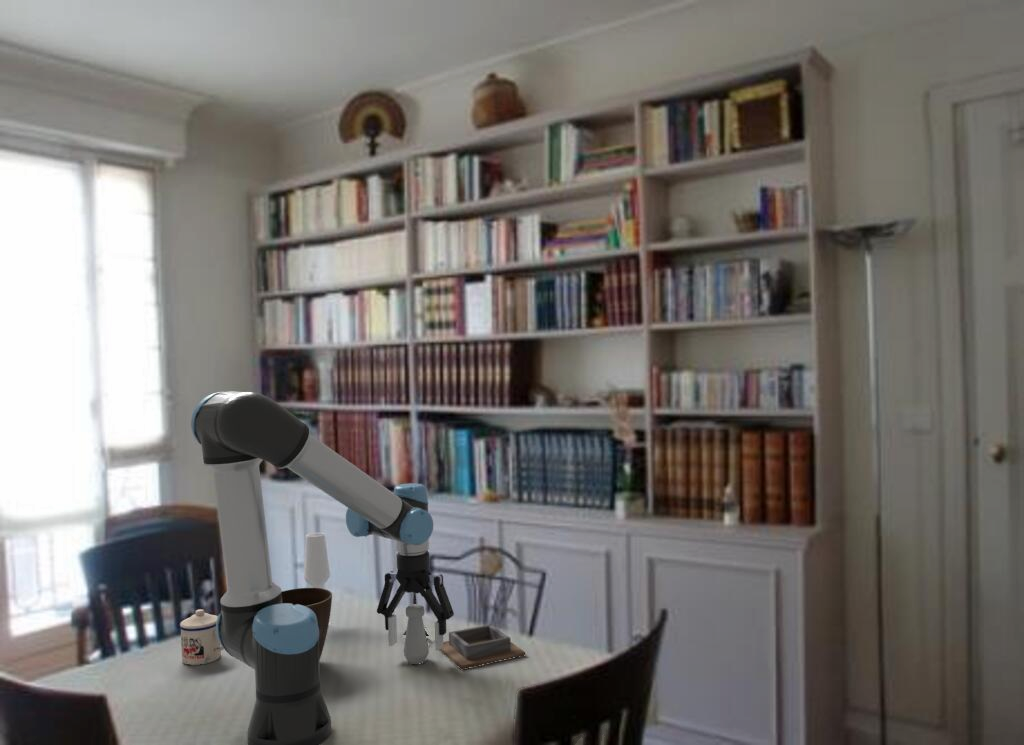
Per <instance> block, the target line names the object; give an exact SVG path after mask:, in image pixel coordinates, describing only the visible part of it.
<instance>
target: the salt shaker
mask: <svg viewBox="0 0 1024 745" xmlns="http://www.w3.org/2000/svg"><path fill="white" fill-rule="evenodd" d="M424 615H425V608H424V605H423V604H418V603H417V604H413V603H412V604H410V605H408V606H406V607H405V616H406V617H407V625H406V630H407V631H406V630H405V631H406V638H404V646H403V656H404V658H405V659H406V661H407V663H408V662H409V663H410V664H409V665H412V664H419V663H422V662H424V663H425V662H426V660H427V659H428V656H429V652H430V650H429V648H428V641H427V640H428V639H427V638H426V634H425V629H424V628H425V625H424V621H423V620H424V619H423V617H424ZM422 664H423V663H422ZM419 665H420V664H419Z"/></svg>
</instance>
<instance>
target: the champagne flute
mask: <svg viewBox="0 0 1024 745" xmlns="http://www.w3.org/2000/svg"><path fill="white" fill-rule="evenodd" d="M325 534H326V533H324V532H312V533H307V534H306V535H305V548H304V550H305V551H304V565H303V566H304V567H303V569H304V570H303V579H304V581H305V582H306V583H307V585H309V586H310V588H322V587H324V586H325V584H326V583H327V582H328V580H329V578H330V576H331V574H330V566H329V558H328V550H327V549H328V548H327V542H326V541H327V540H326V536H325ZM331 623H332V622H331V621H330V620H329V625H330V624H331ZM329 625H328V627H330V626H331V625H332V624H331V625H330V626H329Z"/></svg>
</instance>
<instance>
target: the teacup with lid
mask: <svg viewBox="0 0 1024 745" xmlns="http://www.w3.org/2000/svg"><path fill="white" fill-rule="evenodd" d="M217 618H218V615H215V614H210V613H207V612H205V610H204V609H196V610H195V614H192V615H190V617H188V618H185V619H184V620H181V621H180V624H179V629H180V641H181V646H180V647H181V661H182V663H183V664H185V665H187V664H190V665H189V666H201V665H200V664H202V665H206V663H207V664H210V663H213V662H215V661H217V660H218V659H219V658H220V657H221V655H222V651H224V650H225V649H224V648H223V647H222V646H221V644H220V643H219V641H218V638H217V634H216V622H217Z"/></svg>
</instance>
